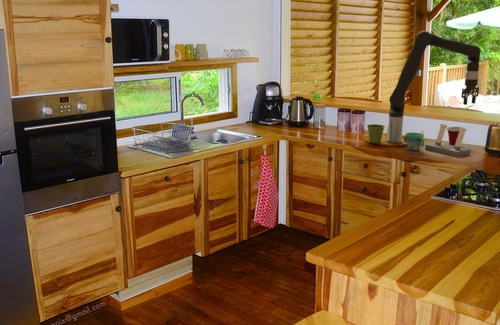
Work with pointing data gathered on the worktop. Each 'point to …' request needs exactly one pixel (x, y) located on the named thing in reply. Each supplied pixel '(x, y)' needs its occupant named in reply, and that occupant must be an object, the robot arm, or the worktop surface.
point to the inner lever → (441, 134)
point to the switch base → (447, 149)
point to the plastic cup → (453, 134)
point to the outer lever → (460, 138)
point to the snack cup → (414, 141)
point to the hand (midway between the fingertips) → (469, 104)
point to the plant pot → (375, 132)
